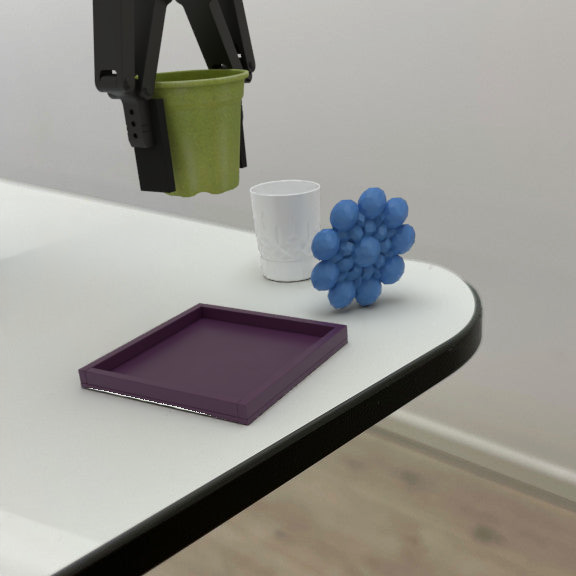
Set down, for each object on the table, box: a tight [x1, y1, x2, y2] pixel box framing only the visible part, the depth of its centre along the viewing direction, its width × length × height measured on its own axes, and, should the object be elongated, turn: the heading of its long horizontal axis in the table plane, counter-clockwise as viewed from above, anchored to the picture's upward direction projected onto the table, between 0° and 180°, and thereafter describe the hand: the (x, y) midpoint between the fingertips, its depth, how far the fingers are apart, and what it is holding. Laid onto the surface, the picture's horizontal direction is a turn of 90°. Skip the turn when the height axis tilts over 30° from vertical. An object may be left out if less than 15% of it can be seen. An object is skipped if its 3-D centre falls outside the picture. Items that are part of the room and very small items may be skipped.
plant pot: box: [135, 68, 249, 198], centre depth 59 cm, size 9×9×9 cm
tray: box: [77, 302, 349, 426], centre depth 67 cm, size 17×17×2 cm
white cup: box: [249, 179, 322, 283], centre depth 87 cm, size 8×8×10 cm
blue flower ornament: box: [309, 186, 416, 309], centre depth 77 cm, size 12×7×12 cm, turn 116°
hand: (197, 177), depth 61 cm, fingers closed on plant pot, 9 cm apart
